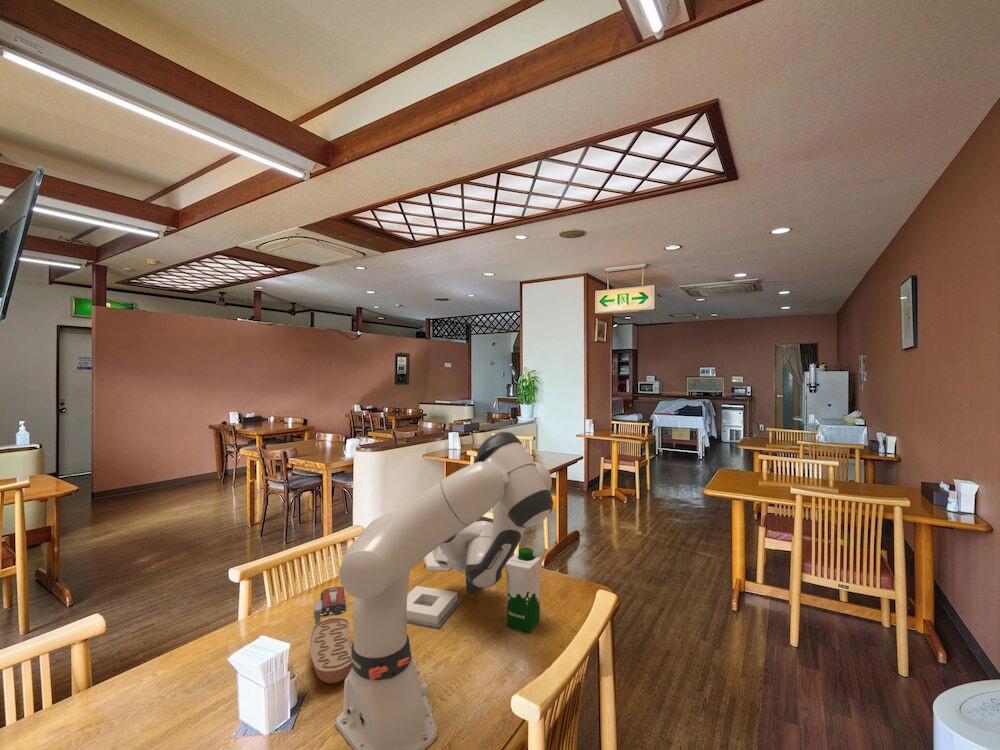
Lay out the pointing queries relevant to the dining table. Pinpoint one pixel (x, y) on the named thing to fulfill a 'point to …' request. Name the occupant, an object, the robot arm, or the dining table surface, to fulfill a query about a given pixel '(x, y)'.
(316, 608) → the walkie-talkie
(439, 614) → the socket
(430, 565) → the white statue
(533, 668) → the dining table surface
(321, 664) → the anatomical model
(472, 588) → the plug
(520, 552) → the milk carton
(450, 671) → the dining table surface
